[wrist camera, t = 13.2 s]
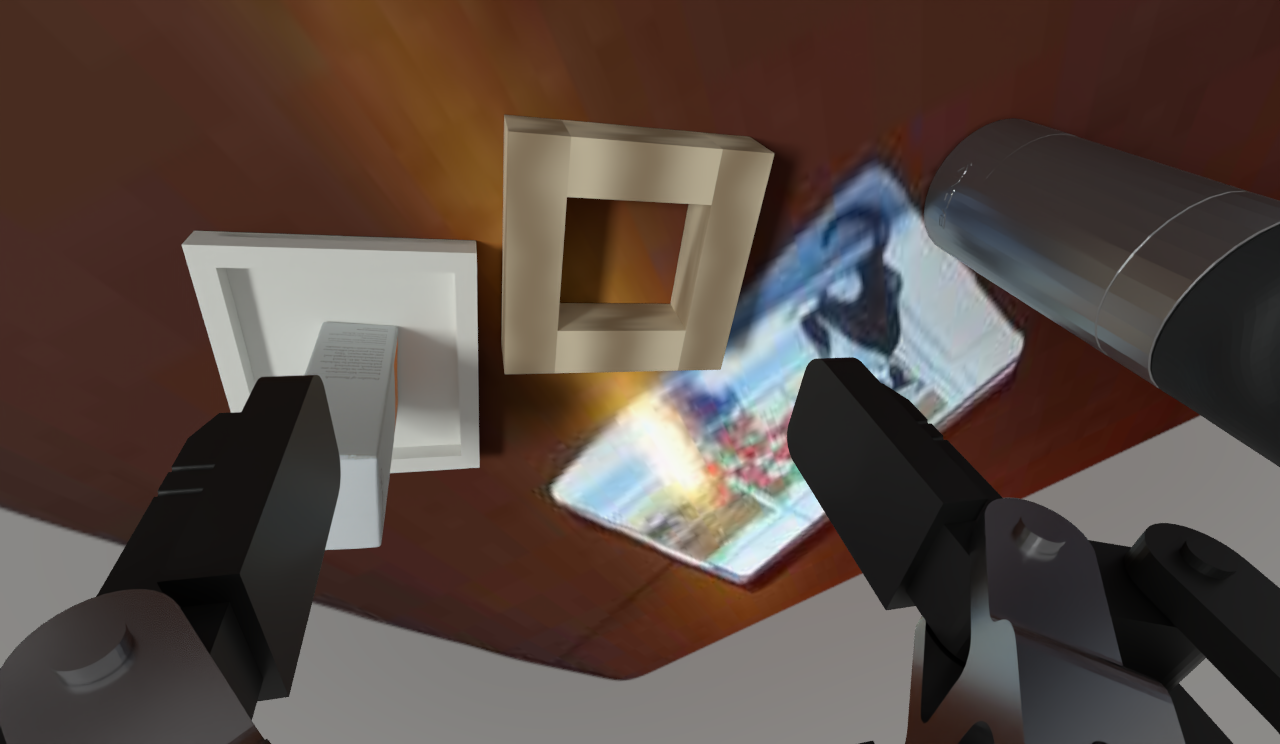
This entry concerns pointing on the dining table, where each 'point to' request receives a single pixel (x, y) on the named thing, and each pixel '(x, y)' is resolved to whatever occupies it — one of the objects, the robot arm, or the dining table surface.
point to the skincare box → (359, 423)
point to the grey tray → (351, 293)
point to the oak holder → (635, 171)
